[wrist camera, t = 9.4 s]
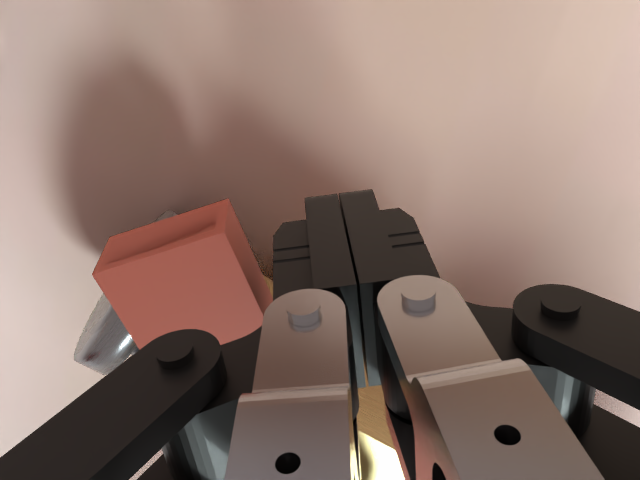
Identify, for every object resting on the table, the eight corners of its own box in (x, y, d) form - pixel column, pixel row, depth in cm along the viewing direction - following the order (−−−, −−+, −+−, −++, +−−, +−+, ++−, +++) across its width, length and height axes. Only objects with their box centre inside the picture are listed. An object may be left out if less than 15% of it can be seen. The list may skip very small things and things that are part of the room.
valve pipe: (494, 389, 28) (583, 576, 21) (409, 458, 30) (460, 653, 23) (182, 184, 22) (135, 344, 14) (100, 289, 24) (17, 483, 16)
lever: (407, 561, 19) (418, 614, 17) (301, 589, 19) (304, 642, 18) (252, 188, 12) (250, 226, 10) (88, 241, 12) (65, 285, 11)
